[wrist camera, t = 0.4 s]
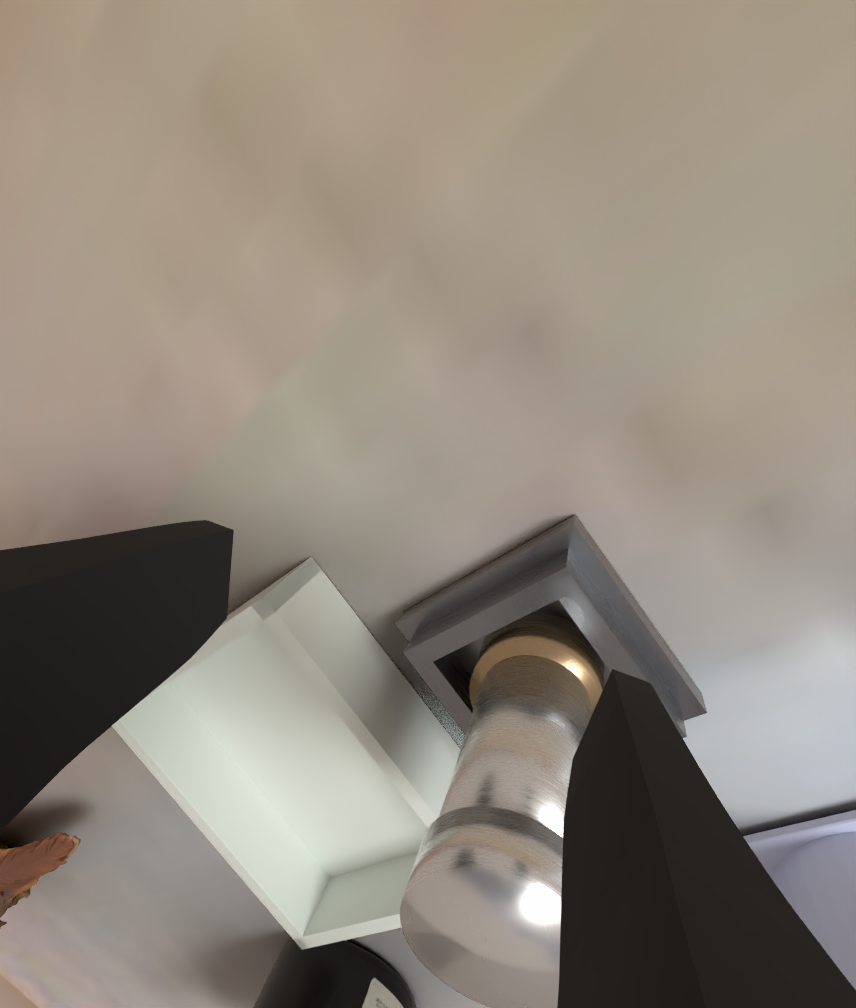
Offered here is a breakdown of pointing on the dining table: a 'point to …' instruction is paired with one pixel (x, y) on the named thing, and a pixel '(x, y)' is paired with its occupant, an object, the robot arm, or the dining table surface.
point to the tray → (301, 758)
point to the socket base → (552, 590)
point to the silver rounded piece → (506, 820)
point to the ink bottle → (333, 979)
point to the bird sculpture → (30, 866)
